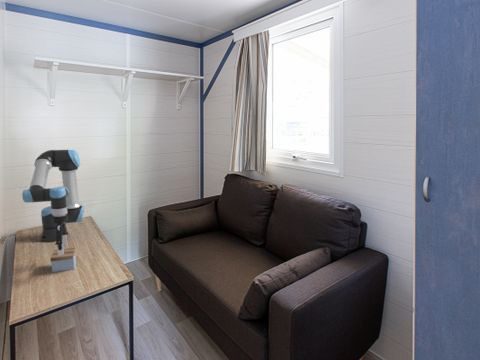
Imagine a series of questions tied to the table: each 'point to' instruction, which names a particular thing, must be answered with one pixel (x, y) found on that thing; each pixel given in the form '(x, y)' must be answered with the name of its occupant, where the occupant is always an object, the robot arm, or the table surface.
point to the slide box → (63, 264)
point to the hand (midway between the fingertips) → (62, 250)
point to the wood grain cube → (67, 255)
